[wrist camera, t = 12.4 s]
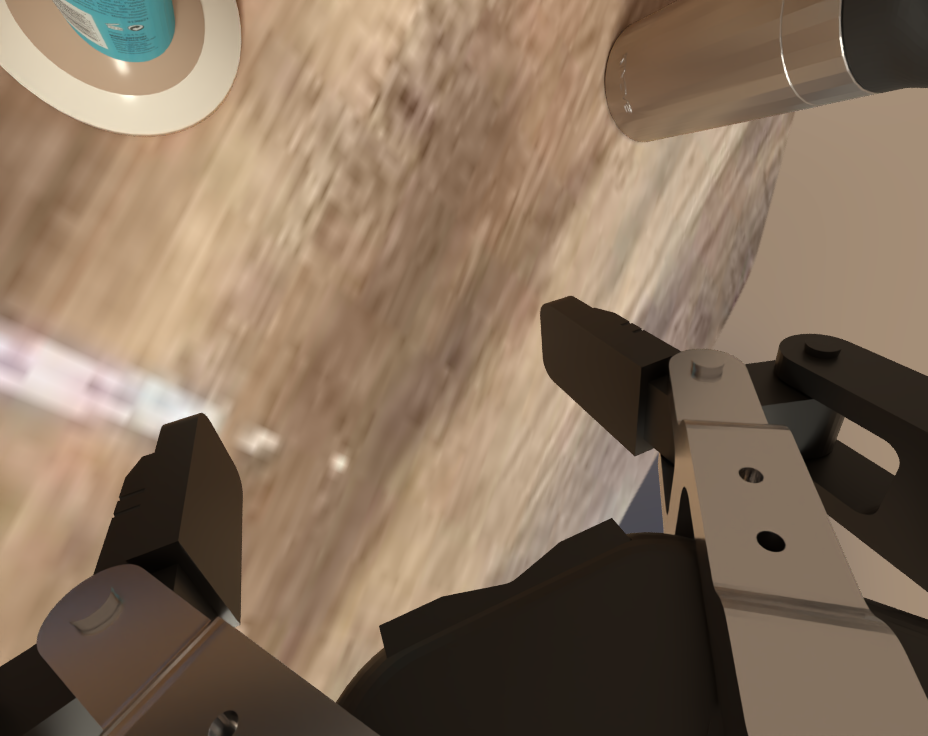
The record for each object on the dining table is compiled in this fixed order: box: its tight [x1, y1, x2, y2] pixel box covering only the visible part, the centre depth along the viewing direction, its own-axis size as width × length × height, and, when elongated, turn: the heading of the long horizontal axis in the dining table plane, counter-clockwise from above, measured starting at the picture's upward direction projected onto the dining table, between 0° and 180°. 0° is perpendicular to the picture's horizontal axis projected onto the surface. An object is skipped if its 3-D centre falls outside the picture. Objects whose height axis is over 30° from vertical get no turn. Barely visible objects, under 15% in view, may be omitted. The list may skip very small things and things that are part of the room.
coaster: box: [0, 0, 241, 137], centre depth 24 cm, size 12×12×1 cm
